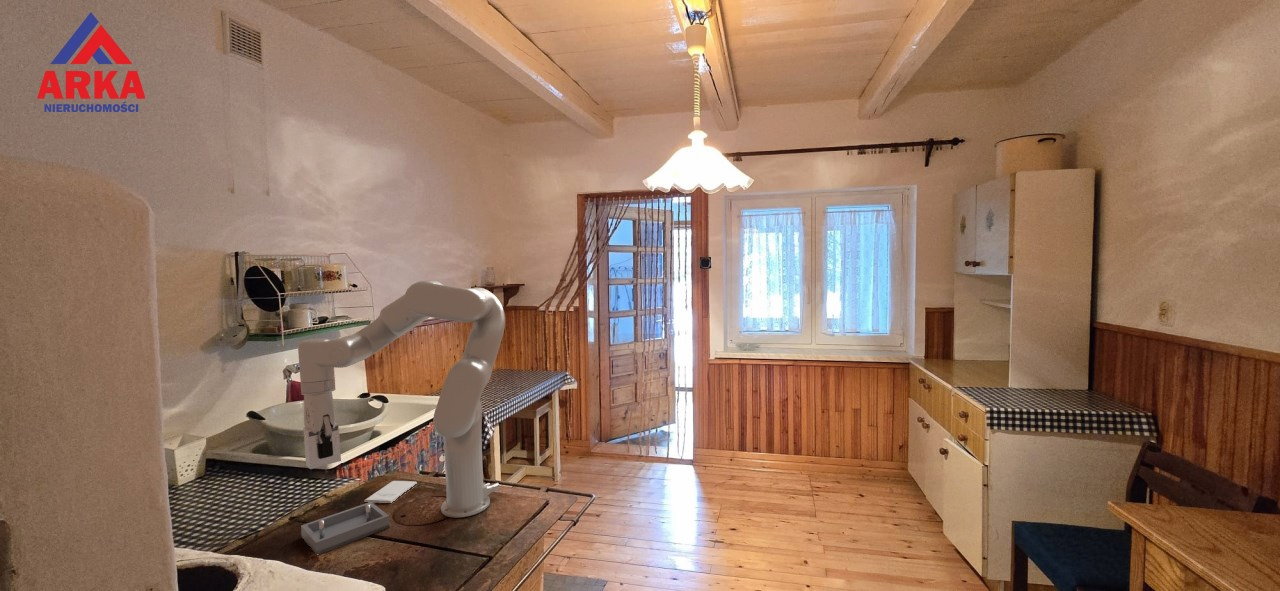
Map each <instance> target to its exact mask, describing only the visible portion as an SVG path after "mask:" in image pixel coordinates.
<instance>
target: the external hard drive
mask: <svg viewBox="0 0 1280 591" xmlns="http://www.w3.org/2000/svg"><path fill="white" fill-rule="evenodd" d="M415 484H417V485H418V482H417V481H416V480H415V481H413V480H412V481H409V480H392V481H391V482H389V483H387V484H386V485H385V486H383V487H382V488H380V489H379V490H377V491H376V492H374V493H373V494H371V495H370V496H368V497H367V498H366V499H364V502H368V503H369V502H372V503H373V504H380V503H392V502H393V501H395V500H396V499H397V498H398V497H399V496H401V495H402V494H403V493H404V492H406V491H407V490H409V489H410V488H411V487H413V486H414V485H415ZM413 488H414V487H413ZM409 491H410V490H409ZM401 497H402V496H401ZM397 500H398V499H397ZM397 500H396V501H397ZM396 501H395V502H396ZM393 503H394V502H393ZM393 503H392V504H393Z"/></svg>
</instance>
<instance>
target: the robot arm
mask: <svg viewBox="0 0 1280 591" xmlns="http://www.w3.org/2000/svg"><path fill="white" fill-rule="evenodd" d="M430 318H432V319H433V318H434V319H439V320H445V321H454V322H459V323H472V326H471V329H470V332H469V335H468V337H467V341H466V344H465V347H464V350H463V353H462V355H461V358H460V359H459V360H458V361H457V362H456V363H454V364H453V366H452V367H451V368H450V369H449V371H448V373H447V375H446V378H445V380H444V383H443V386H442V388H441V391H440V395H439V398H438V400H437V404H436V406H435V408H434V409H435V410H434V414H433V417H432V418H433V419H432V420H433V426H434V429H435V430H436V432H437V434H439V436H441V437H442V438H444V442H443V443H444V467H445V469H444V470H445V471H444V472H445V489H446V490H445V491H446V492H445V493H446V500H444V502H443V503H442V504H441V506H440V512H441V514H442V515H444V516H445V517H449V518H458V519H459V518H465V517H471V516H474V515H478V514H479V513H481V512H483V511H485V510H486V509H487V508H488V507H489V506H490V503H491V497H490V496H489V495H490V494H491V493H493V492H496V491H499V490H500V489H501V487H500V484H499V482H495V483H493V484H491V483H490V482H487V483H484V472H483V471H484V470H483V469H484V468H483V450H482V449H483V444H482V443H483V441H482V426H483V425H482V423H483V421H482V420H483V406H482V402H481V400H480V399H481V398H482V395H483V393H484V392H483V391H484V389H485V388H486V386H487V384H488V383H489V381H490V380H491V377H492V373H493V369H494V365H495V363H496V360H497V356H498V354H499V351H500V347H501V343H502V339H503V337H504V331H505V328H506V314H505V310H504V308H503V305H502V303H501V302H500V300H499V299H498V298H497V296H496V295H495V294H494V293H492V292H491V291H489V290H488V289H485V288H484V287H470V288H465V287H457V286H450V285H444V284H443V283H441V282H439V281H437V280H421V281H417V282H415V283H413V284H411V285H410V286H409V287H408V288H407V290H406V291H405V293H404V294H403V295H402V296H400V297H398V298H397V299H395V300H394V301H392V302H391V303H389V304H387V305H386V306H384V307H383V308H382V309H381V310H380V311H379V315H378V317H377V318H376V319H374V321H372V322H370V323H369V324H367V325H366V326H364V327H363V328H361V329H360V330H358V331H357V332H355V333H353V334H350V335H347V336H342V337H340V338H336V339H335V338H334V339H332V340H330V339H329V338H325V337H324V338H310V339H304V340H302V341H300V342H299V343H298V346H297V352H298V362H299V363H298V365H299V378H300V380H299V381H300V391H301V392H300V393H301V395H302V396H303V423H304V425H303V426H304V428H305V427H307V428H309V429H310V430H311V432H312V433H317V432H318V438H319V443H318V456H319V459H323V458H326V457H330V456H333V444H332V430H333V429H334V428H335V422H336V415H335V414H336V413H335V407H334V404H335V403H334V397H333V392H334V391H336V379H335V378H336V377H335V376H336V375H335V368H336V369H337V368H338V369H339V368H340V369H341V368H347V367H350V366H352V365H355V364H357V363H359V362H363V361H364V360H366V359H368V358H370V357H371V356H373V355H374V354H376V353H377V352H379V351H380V350H382V349H384V348H385V347H386V346H388V345H390V344H392V343H393V342H395V340H397V339H398V338H400V337H401V338H402V336H403V335H405V334H407V333H408V332H410V331H411V330H412V329H414V328H415V327H417V326H418V325H420V324H422V323H423V322H425V321H426V320H428V319H430ZM330 424H331V425H332V426H331V425H330ZM322 428H324V430H323V431H320V430H321V429H322ZM322 433H325V434H323V436H322Z"/></svg>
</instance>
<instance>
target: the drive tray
mask: <svg viewBox="0 0 1280 591" xmlns="http://www.w3.org/2000/svg"><path fill="white" fill-rule="evenodd" d="M390 524H391V523H390V515H389V514H388V513H387V512H386V511H384V510H382V509H381V508H380V507H379V506H377V505H376V503H372V502H369V503H364V504H360V505H358V506H354V507H351V508H349V509H345V510H342V511H340V512H338V513H333V514H330V515H327V516H325V517H322V518H319V519H316V520H314V521H310V522H307V523H304V524H302V525H300V526H301V527H300V531H301V533H300V534H301V538H302V540H303V539H304V543H306V544H307V546H308V547H309V546H310V547H311V548H312V549H311V548H310V547H309V548H310V549H311V550H312V552H313V553H314V552H315V553H316V554H315V553H314V554H315V555H316V556H318V555H317V554H319V555H321V554H320V553H322V554H324V553H323V552H325V553H327V552H329V551H332V550H335V549H337V548H339V547H343V546H345V545H347V544H350V543H353V542H356V541H358V540H361V539H363V538H366V537H369V536H371V535H373V534H377V533H378V532H381V531H384V530H387V529H389V528H390ZM326 551H327V552H326Z"/></svg>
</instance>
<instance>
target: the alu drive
mask: <svg viewBox="0 0 1280 591" xmlns="http://www.w3.org/2000/svg"><path fill="white" fill-rule="evenodd" d="M330 425H331V424H330ZM339 425H340V424H339V422H336V421H335V428H334V429H333V430H332V444H333V456H330V457H326V458H323V459H319V456H318V443H319V438H318V432H317V433H312V432H311V430H310V429H309V428H307V427H305V426H304V427H303V441H304V442H303V443H304V455H305V456H304V457H305V466H306V467H307V468H308V469H310V470H314V469H316V468H320V467H325V466H328V465H331V464H333V463H338V462H342V454H341V440H340V427H339ZM331 426H332V425H331ZM323 430H324V428H322V429H321V430H320V431H323ZM323 434H325V433H322V436H323Z"/></svg>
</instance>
